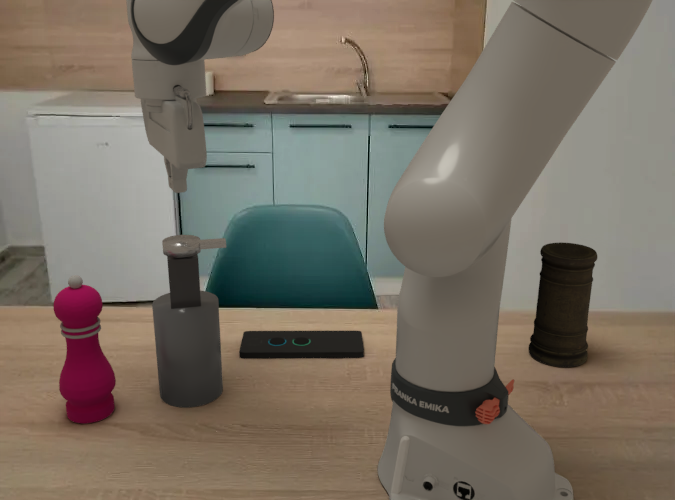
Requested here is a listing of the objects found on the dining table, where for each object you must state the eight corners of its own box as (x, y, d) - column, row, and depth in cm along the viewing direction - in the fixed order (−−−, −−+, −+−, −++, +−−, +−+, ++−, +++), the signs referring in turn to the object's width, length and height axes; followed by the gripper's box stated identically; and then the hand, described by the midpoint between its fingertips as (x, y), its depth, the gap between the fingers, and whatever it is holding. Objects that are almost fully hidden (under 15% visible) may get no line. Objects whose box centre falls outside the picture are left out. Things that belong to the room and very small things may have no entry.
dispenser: (220, 372, 106) (213, 242, 99) (225, 403, 98) (218, 262, 91) (159, 379, 104) (148, 246, 97) (160, 411, 96) (147, 268, 89)
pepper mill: (126, 399, 99) (113, 267, 92) (105, 427, 92) (89, 286, 85) (77, 396, 99) (61, 264, 93) (53, 424, 92) (33, 284, 86)
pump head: (226, 289, 100) (223, 232, 97) (229, 302, 95) (227, 242, 93) (166, 294, 98) (162, 236, 95) (167, 307, 93) (162, 247, 91)
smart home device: (243, 329, 118) (361, 329, 118) (244, 338, 118) (361, 338, 119) (238, 352, 110) (364, 351, 110) (238, 361, 111) (364, 361, 111)
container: (598, 362, 110) (613, 255, 104) (552, 372, 107) (564, 262, 101) (561, 339, 118) (573, 238, 112) (517, 347, 115) (527, 244, 109)
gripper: (216, 89, 79) (222, 206, 84) (178, 76, 97) (184, 173, 101) (160, 91, 77) (169, 212, 81) (131, 77, 94) (140, 177, 99)
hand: (178, 190), depth 91 cm, fingers closed
